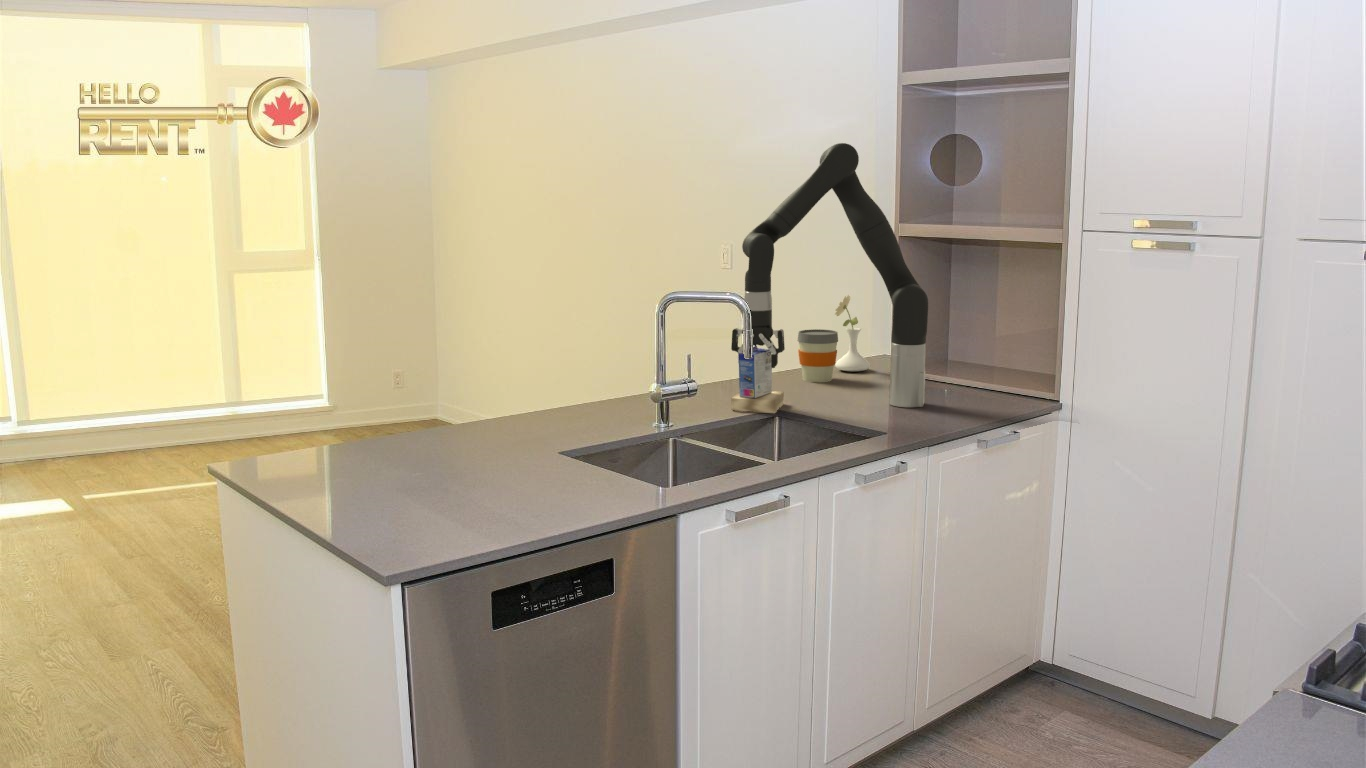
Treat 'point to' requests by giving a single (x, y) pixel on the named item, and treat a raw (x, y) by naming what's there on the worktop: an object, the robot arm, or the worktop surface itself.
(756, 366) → the ink cartridge box
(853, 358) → the flower in vase
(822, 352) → the reusable coffee cup
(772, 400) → the birch block
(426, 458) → the worktop surface
